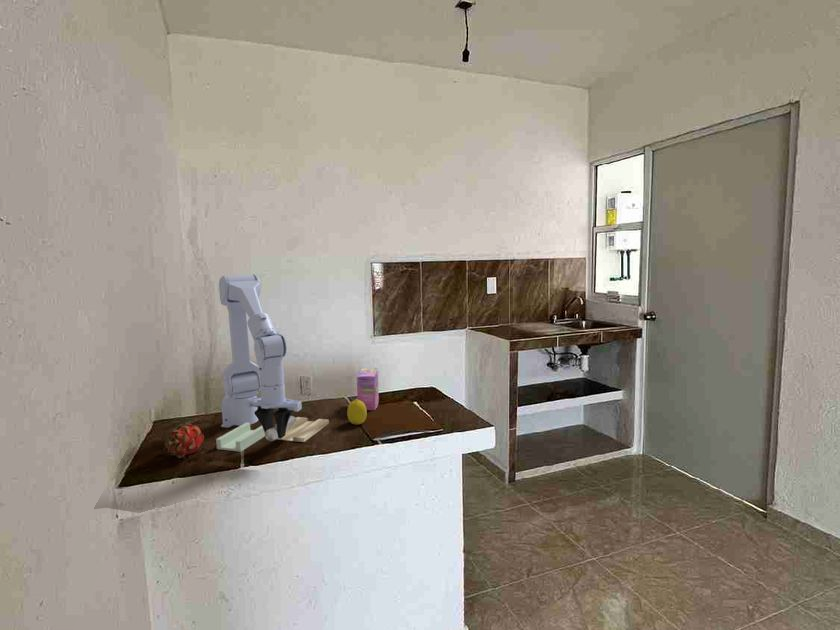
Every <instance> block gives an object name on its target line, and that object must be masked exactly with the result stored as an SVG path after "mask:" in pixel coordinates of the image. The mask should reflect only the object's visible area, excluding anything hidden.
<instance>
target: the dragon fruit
mask: <svg viewBox="0 0 840 630" xmlns="http://www.w3.org/2000/svg"><path fill="white" fill-rule="evenodd" d="M164 438H165V442H164V447H163V451H164V452H166V453H167V455H168V456H175V457H176V458H178V459H181V458H183V457H184V459H186V458H187V455H191V454H195V453H199V452H200V446H201V445H202V443H203V442H204V441H205V436H204V433H202V431H201V429H200V428H199V426H197V425H196V424H195V425H193V424H192V423H189V422H188V423H187V422H186V423H185V424H184V425H182V426H181V425H179V426H177V427H175V428H173V431H171V432H168V433H165V434H164Z"/></svg>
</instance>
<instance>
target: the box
mask: <svg viewBox="0 0 840 630" xmlns="http://www.w3.org/2000/svg"><path fill="white" fill-rule="evenodd" d="M356 391H357V393H356V396H357V398H356V399H358V400H360V401H362V402H363V403H364V404H365V406H366V410H367V411H375V410H377V409H378V406H379V400H380V399H379V398H380V397H379V395H380V394H379V368H377V367H362V368H360V369H359V372H358V374H357V376H356ZM376 408H377V409H376Z"/></svg>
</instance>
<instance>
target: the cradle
mask: <svg viewBox="0 0 840 630" xmlns="http://www.w3.org/2000/svg"><path fill="white" fill-rule="evenodd" d="M264 437H265V432H264V429H263V427H262V425H260V426H259V427H257V428H255V429H251V424H250V423H244V424H243V425H241V426H238V427H236V428H234V429H232V430H230V431H228V432H226V433H225V434H223V435H221V436H219V437H217V438H215V442H216V443H215V445H216V450H224V451H233V452H240V453H241V452H243V451H244V450H246V449H248V448H249V447H250V446H252V445H254V444H255V443H257V442H259V440H261V439H263V438H264Z"/></svg>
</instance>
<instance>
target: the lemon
mask: <svg viewBox="0 0 840 630" xmlns="http://www.w3.org/2000/svg"><path fill="white" fill-rule="evenodd" d="M367 411H368V410H366V406H365V404H364V403H363V402H362V401H360V400H358V399H357V398H355V399H354V400H352V401H351V402H349V404H348V406H347V419H348V421H349V422H350V424H353V425H354V426H355V425H361V424H363V423H364V422H365V421H366V419H367V415H368V414H367Z"/></svg>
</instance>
